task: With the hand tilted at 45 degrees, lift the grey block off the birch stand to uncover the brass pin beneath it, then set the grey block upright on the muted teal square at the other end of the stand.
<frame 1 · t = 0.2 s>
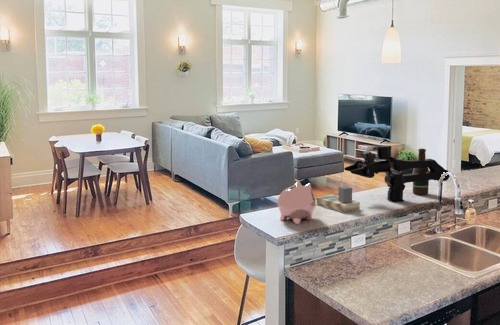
hand: (347, 170, 232), 17 cm above the worktop, tool horizontal, fingers open, 9 cm apart
beer bottle: (420, 194, 251), on the worktop
grey block: (345, 201, 225), point 3 cm above the worktop, touching stand
piggy bank: (297, 219, 211), on the worktop
stand: (337, 206, 230), on the worktop
brass pin: (345, 209, 225), resting on stand
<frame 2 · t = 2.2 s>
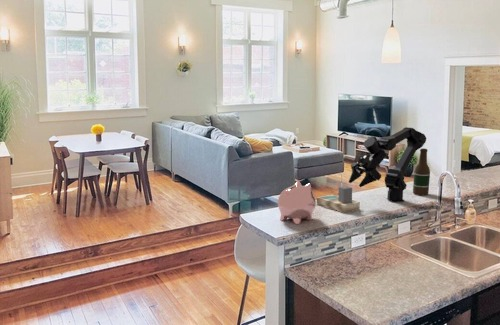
hand: (354, 184, 225), 11 cm above the worktop, tool tilted 45°, fingers open, 9 cm apart
nothing on the worktop moved.
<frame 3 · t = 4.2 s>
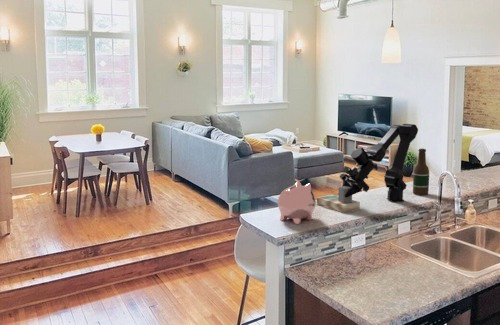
hand: (342, 195, 224), 7 cm above the worktop, tool tilted 45°, fingers closed on grey block, 5 cm apart
grey block: (345, 201, 225), point 3 cm above the worktop, touching gripper, stand
everything else where it was.
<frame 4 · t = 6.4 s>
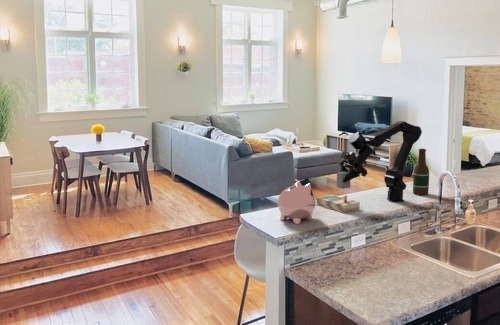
hand: (340, 181, 224), 13 cm above the worktop, tool tilted 45°, fingers closed on grey block, 5 cm apart
grey block: (343, 187, 225), point 10 cm above the worktop, touching gripper
everything else where it was.
when the fingers open (8 cm above the worktop, at t = 9.0 s): grey block stays where it is, resting on stand.
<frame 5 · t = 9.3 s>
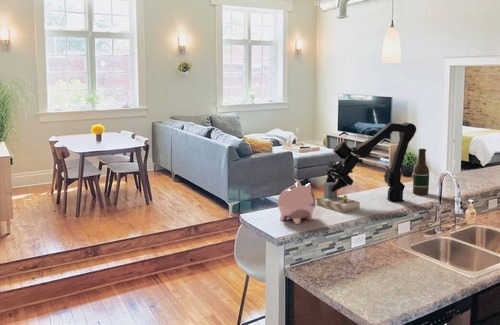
hand: (328, 189, 232), 8 cm above the worktop, tool tilted 45°, fingers open, 7 cm apart
grey block: (330, 197, 233), point 4 cm above the worktop, touching stand
everything else where it was.
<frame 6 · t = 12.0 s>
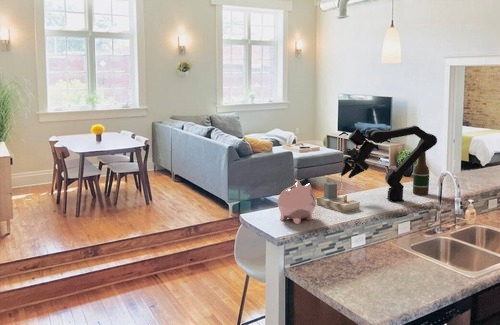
hand: (345, 176, 234), 13 cm above the worktop, tool tilted 40°, fingers open, 9 cm apart
nothing on the worktop moved.
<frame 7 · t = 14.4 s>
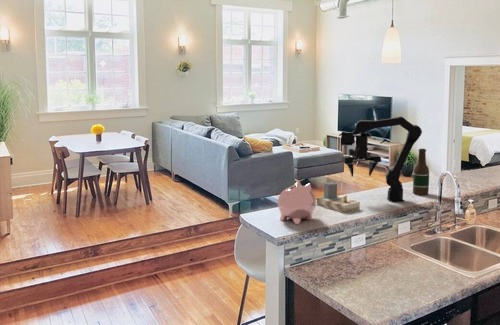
hand: (361, 176, 241), 12 cm above the worktop, tool pointing down, fingers open, 9 cm apart
nothing on the worktop moved.
at the end: grey block 0.1 cm from the target spot, point 3.7 cm above the worktop; grey block tilted 0°; the gripper is holding nothing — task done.
